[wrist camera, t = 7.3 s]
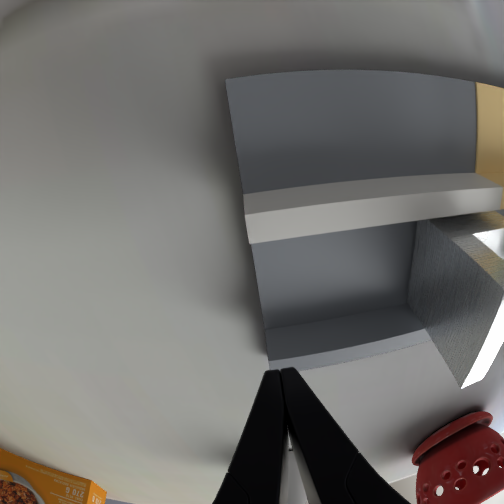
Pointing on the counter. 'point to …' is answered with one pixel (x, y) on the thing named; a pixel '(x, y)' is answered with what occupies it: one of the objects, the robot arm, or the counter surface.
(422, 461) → the plant pot
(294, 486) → the flask
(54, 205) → the counter surface
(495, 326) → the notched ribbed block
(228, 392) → the counter surface
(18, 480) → the cereal box
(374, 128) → the bench
